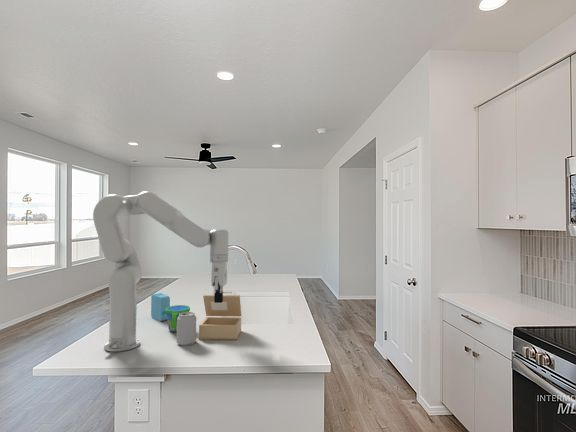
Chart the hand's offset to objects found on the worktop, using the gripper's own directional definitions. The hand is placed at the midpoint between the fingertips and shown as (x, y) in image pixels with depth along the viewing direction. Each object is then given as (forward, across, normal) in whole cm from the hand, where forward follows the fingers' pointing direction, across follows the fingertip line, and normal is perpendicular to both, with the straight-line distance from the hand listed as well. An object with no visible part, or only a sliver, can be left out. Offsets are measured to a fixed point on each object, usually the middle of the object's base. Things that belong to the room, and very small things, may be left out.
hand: (218, 302), depth 138 cm
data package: (+16, +30, +36) cm, 50 cm away
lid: (+4, +9, 0) cm, 10 cm away
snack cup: (+16, +12, +21) cm, 29 cm away
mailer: (+16, +6, 0) cm, 17 cm away
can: (+16, -4, +12) cm, 20 cm away
